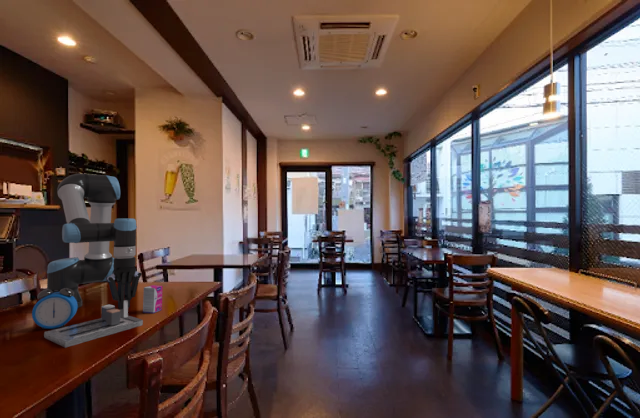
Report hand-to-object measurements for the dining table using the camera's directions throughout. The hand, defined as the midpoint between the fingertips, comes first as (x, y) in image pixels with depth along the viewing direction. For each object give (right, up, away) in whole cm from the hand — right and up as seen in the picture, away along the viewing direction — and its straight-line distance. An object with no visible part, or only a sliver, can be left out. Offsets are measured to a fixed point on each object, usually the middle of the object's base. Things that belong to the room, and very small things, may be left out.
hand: (123, 316), depth 127 cm
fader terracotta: (-2, -1, -3) cm, 4 cm away
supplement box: (+1, -5, +20) cm, 21 cm away
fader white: (-8, -2, +2) cm, 8 cm away
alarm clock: (-27, -4, 0) cm, 27 cm away
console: (-7, -4, -5) cm, 10 cm away
